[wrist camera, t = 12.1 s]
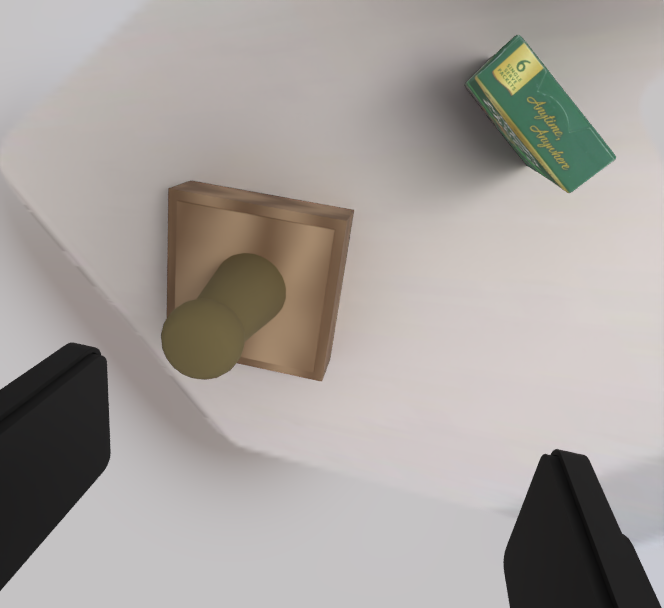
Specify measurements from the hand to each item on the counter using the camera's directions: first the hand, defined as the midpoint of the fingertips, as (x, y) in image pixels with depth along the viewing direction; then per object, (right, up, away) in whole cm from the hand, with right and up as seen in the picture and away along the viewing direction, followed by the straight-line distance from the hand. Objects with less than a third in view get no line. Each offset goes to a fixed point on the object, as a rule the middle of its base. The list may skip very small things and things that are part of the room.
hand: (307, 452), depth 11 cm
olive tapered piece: (-6, +4, +30) cm, 31 cm away
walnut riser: (-5, +6, +34) cm, 35 cm away
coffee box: (+13, +17, +26) cm, 34 cm away
